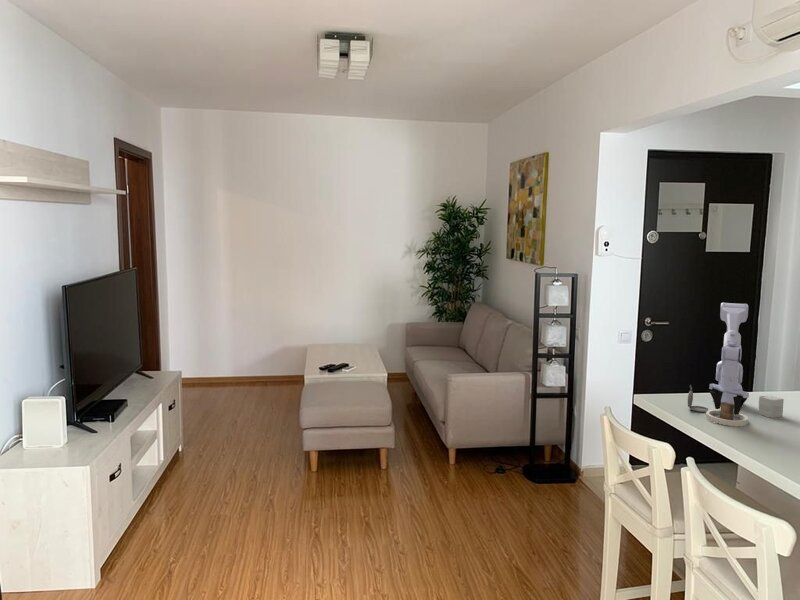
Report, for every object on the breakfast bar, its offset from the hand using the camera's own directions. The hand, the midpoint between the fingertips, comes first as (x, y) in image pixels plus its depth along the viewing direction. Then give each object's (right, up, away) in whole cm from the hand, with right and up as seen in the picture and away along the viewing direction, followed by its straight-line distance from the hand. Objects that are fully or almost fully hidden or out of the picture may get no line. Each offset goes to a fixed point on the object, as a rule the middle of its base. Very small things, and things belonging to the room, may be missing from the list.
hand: (726, 411), depth 227 cm
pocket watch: (-5, -2, +13) cm, 15 cm away
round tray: (0, -4, 0) cm, 3 cm away
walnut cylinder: (0, -3, 0) cm, 3 cm away
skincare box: (+21, -3, +7) cm, 23 cm away
